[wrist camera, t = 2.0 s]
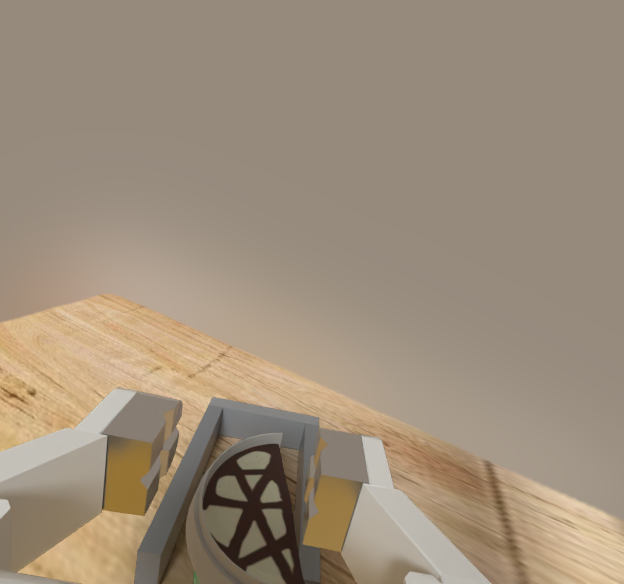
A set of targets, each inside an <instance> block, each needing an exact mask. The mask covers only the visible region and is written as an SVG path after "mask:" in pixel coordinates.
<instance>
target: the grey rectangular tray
mask: <svg viewBox="0 0 624 584" xmlns="http://www.w3.org/2000/svg"><path fill="white" fill-rule="evenodd" d="M318 428H319V417H314V416H309V415H304V414H298V413H293V412H288V411H283V410H278V409H272V408H267V407H262V406H257V405H252V404H247V403H241V402H236V401H231V400H226V399H221V398H216V397H212V399H211V402H210V404H209V406H208V408H207V410H206V412H205V414H204V416H203V418H202V420H201V422H200V424H199V426H198V428H197V430H196V432H195V434H194V436H193V438H192V441H191V443H190V445H189V447H188V449H187V451H186V453H185V455H184V457H183V459H182V461H181V463H180V465H179V467H178V469H177V471H176V473H175V475H174V477H173V480H172V482H171V484H170V486H169V488H168V490H167V492H166V494H165V496H164V498H163V500H162V502H161V504H160V506H159V508H158V510H157V512H156V514H155V517H154V519H153V521H152V523H151V525H150V527H149V529H148V531H147V533H146V535H145V537H144V539H143V541H142V543H141V545H140V547H139V549H138V553H137V562H136V571H135V580H134V584H160V582H161V580H162V577H163V574H164V572H165V569H166V567H167V564H168V562H169V559H170V557H171V554H172V551H173V549H174V546H175V544H176V541H177V539H178V536H179V534H180V531H181V529H182V526H183V523H184V521H185V518H186V516H187V513H188V510H189V507H190V504H191V502H192V499H193V497H194V495H195V492H196V490H197V488H198V485H199V483H200V480H201V477H202V475H203V472H204V470H205V467H206V465H207V462H208V460H209V457H210V455H211V452H212V449H213V447H214V444H215V442H216V439H217V437H218V435H223V436H228V437H233V438H239V439H247V438H249V437H253V436H257V435H261V434H268V433H283V434H282V439H281V444H280V446H281V447H286V448H292V449H297V450H299V456H298V471H297V485H296V500H295V515H294V528H295V534H296V541H297V547H298V553H299V559H300V565H301V570H302V575H303V579H304V582H305V584H320V548H318V547H313V546H308V545H304V544H303V516H304V512H305V508H306V505H307V504H306V502H305V501H304V492H305V481H306V475H307V470H308V465H309V461H310V457H311V456H313V455H314V441H315V438H316V434H317V431H318Z"/></svg>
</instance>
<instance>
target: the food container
mask: <svg viewBox="0 0 624 584" xmlns="http://www.w3.org/2000/svg"><path fill="white" fill-rule="evenodd" d="M282 434H283V433H268V434H261V435H257V436H253V437H249V438H247V439H244V440H241V441H239V442H237V443H236V444H234V445H232V446H230V447H229V448H228V449H226V450H225V451H224V452H223V453H221V454H220V455H219V456H218V458H217V459H216V460H215V461H214V462H213V463H212V465H211V466H210V467H209V468H208V470H207V471H206V473H205V474H204V476H203V477H202V479H201V481H200V483H199V486H198V488H197V490H196V492H195V495H194V497H193V499H192V502H191V504H190V507H189V510H188V515H187V520H186V544H187V550H188V555H189V558H190V561H191V563H192V566H193V569H194V576H193V584H305V582H304V579H303V575H302V570H301V565H300V559H299V553H298V547H297V541H296V534H295V528H294V520H293V513H292V506H291V500H290V495H289V491H288V488H287V484H286V479H285V475H284V470H283V465H282V459H281V454H280V444H281V439H282Z"/></svg>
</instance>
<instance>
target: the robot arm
mask: <svg viewBox="0 0 624 584" xmlns="http://www.w3.org/2000/svg"><path fill="white" fill-rule="evenodd" d="M182 406H183V404H182V401H181V400H177V399H172V398H168V397H163V396H158V395H154V394H149V393H144V392H138V391H135V390H130V389H124V388H115V389H113V390H112V391H111V392H110V393H109V394H108V395H107V396H106V397H105V398H104V399H103V400H102V401H101V402H100V403H99V404H98V405H97V406H96V407H95V408H94V409H93V410H92V411H91V412H90V413H89V414H88V415H87V416H86V417H85V418H84V419H83V420H82V421H81V422H80V423H79V424H78V425H77V426H76V427H75V428H74V429H70V428H65V429H62V430H59V431H56V432H54V433H51V434H48V435H45V436H43V437H40V438H37V439H34V440H32V441H29V442H26V443H23V444H21V445H18V446H15V447H12V448H9V449H7V450H4V451H1V452H0V584H81V583H75V582H69V581H63V580H57V579H52V578H46V577H40V576H34V575H28V574H22V573H17V572H18V571H20V570H21V569H22V568H24V567H25V566H27V565H28V564H29V563H31V562H32V561H34V560H35V559H37V558H38V557H39V556H41V555H42V554H44V553H45V552H46V551H48V550H49V549H51V548H52V547H54V546H55V545H56V544H58V543H59V542H61V541H62V540H63V539H65V538H66V537H68V536H69V535H71V534H72V533H73V532H75V531H76V530H78V529H79V528H80V527H82V526H83V525H85V524H86V523H88V522H89V521H90V520H92V519H93V518H95V517H96V516H97V515H99V514H100V513H102V510H106V511H113V512H120V513H127V514H134V515H141V516H144V515H145V513H146V511H147V510H148V508H149V506H150V504H151V502H152V500H153V498H154V496H155V494H156V493H157V491H158V484H159V478H161V477H163V476H164V475H166V473H167V471H168V469H169V467H170V465H171V463H172V460H173V457H174V454H175V452H176V447H177V443H178V437H179V431H178V430H177V428H176V425H177V423H178V422H179V420H180V418H181V415H182ZM304 501H305V502H306V504H307V505H306V508H305V512H304V516H303V544H304V545H308V546H313V547H318V548H323V549H328V550H332V551H337V552H342V553H341V555H342V557H343V559H344V561H345V563H346V565H347V567H348V568H349V570H350V572H351V574H352V576H353V578H354V579H355V581H356V583H357V584H491V583H490V582H489V581H488V579H487V578H486V577H485V576H484V575H483V574H482V573H481V572H480V571H479V570H478V569H477V568H476V567H475V566H474V565H473V564H472V563H471V562H470V561H469V560H468V559H467V558H466V557H465V556H464V555H463V554H462V553H461V552H460V551H459V550H458V549H457V548H456V547H455V545H454V544H453V543H452V542H451V541H450V540H449V539H448V538H447V537H446V536H445V535H444V534H443V533H442V532H441V531H440V530H439V529H438V528H437V527H436V526H435V525H434V524H433V523H432V522H431V521H430V520H429V519H428V518H427V517H426V516H425V515H424V514H423V513H422V511H421V510H420V509H419V508H418V507H417V506H416V505H415V504H414V503H413V502H412V501H411V500H410V499H409V498H408V497H407V496H406V495H405V494H404V493H403V492H402V491H401V490H396V489H395V488H394V484H393V480H392V477H391V473H390V469H389V465H388V461H387V458H386V454H385V450H384V446H383V443H382V440H381V439H380V438H379V437H373V436H367V435H360V434H359V435H357V434H352V433H346V432H341V431H335V430H329V429H324V428H318V431H317V434H316V438H315V441H314V455H313V456H311V457H310V461H309V465H308V470H307V475H306V481H305V492H304Z"/></svg>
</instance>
